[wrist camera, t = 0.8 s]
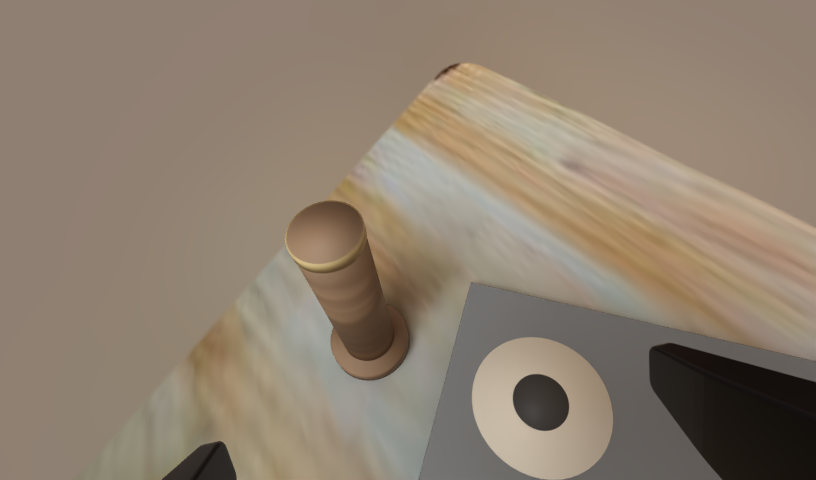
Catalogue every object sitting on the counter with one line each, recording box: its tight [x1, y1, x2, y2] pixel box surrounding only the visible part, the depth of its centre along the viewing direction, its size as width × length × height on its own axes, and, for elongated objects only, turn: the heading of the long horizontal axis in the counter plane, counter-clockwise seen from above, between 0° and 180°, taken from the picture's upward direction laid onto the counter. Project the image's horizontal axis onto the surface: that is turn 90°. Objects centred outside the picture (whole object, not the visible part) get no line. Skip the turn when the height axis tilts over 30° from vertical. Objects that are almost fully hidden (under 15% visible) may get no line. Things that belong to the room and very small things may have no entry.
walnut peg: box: [285, 201, 409, 380], centre depth 21 cm, size 5×5×12 cm
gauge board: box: [419, 282, 816, 480], centre depth 21 cm, size 12×20×1 cm, turn 72°
